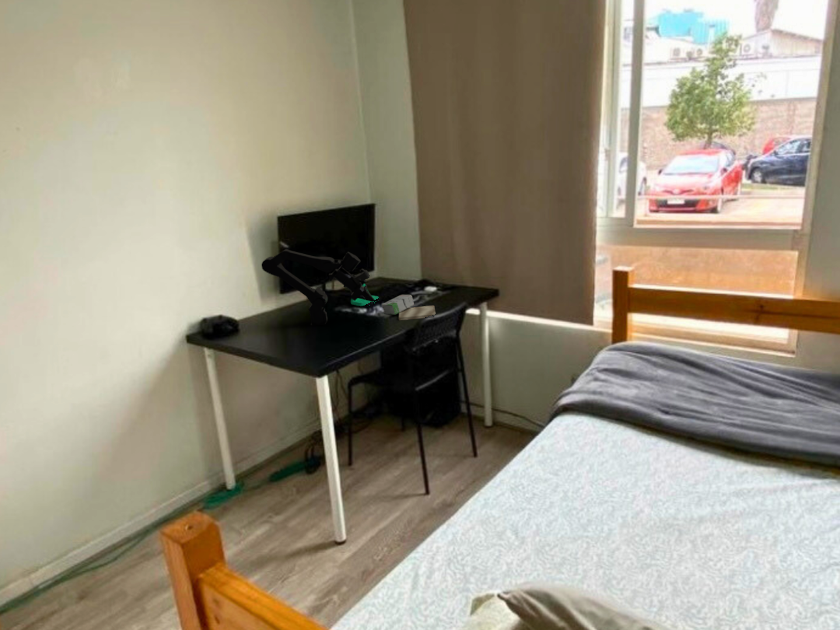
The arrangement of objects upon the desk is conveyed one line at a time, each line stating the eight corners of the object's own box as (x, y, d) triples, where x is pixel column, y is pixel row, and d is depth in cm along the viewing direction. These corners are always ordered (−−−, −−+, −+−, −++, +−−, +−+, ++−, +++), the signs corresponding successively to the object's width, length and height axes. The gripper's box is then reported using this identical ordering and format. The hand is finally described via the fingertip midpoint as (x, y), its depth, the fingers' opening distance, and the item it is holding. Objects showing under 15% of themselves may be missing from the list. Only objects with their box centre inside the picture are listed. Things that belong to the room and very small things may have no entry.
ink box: (395, 315, 249) (415, 304, 255) (391, 304, 247) (412, 294, 254) (384, 314, 256) (404, 304, 262) (381, 304, 254) (401, 294, 261)
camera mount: (361, 308, 269) (358, 287, 266) (351, 306, 274) (348, 285, 271) (380, 301, 277) (377, 281, 274) (369, 300, 282) (367, 280, 279)
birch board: (399, 320, 244) (398, 317, 243) (399, 311, 257) (399, 308, 257) (435, 316, 244) (435, 314, 243) (434, 307, 257) (434, 305, 257)
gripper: (355, 269, 235) (384, 292, 238) (359, 260, 252) (386, 282, 256) (339, 289, 237) (368, 312, 240) (344, 279, 255) (370, 300, 258)
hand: (373, 300), depth 248 cm, fingers closed
